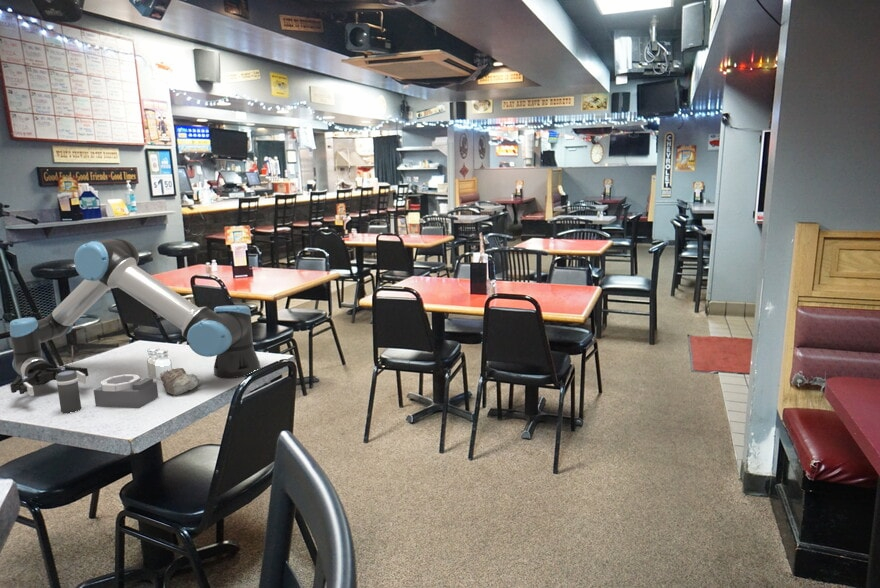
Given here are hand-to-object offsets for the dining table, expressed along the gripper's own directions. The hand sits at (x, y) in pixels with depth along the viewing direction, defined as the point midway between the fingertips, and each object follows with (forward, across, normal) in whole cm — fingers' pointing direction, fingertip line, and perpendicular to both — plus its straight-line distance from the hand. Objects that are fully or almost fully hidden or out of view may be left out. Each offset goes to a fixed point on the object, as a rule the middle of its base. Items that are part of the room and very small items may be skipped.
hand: (59, 385), depth 172 cm
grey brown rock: (+16, -29, -6) cm, 33 cm away
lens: (+8, 0, -6) cm, 10 cm away
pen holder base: (+14, -14, -6) cm, 20 cm away
